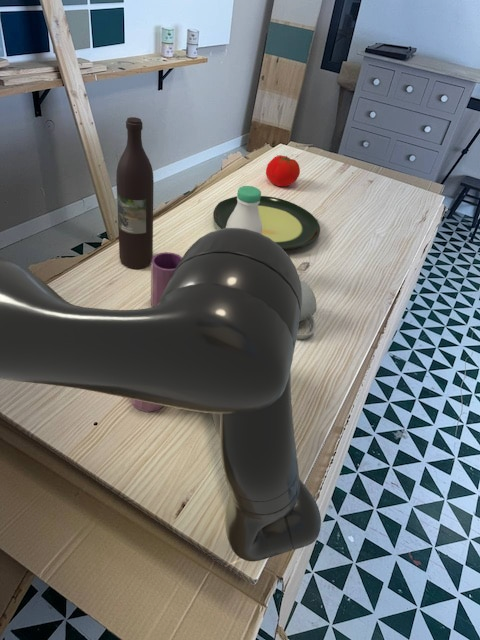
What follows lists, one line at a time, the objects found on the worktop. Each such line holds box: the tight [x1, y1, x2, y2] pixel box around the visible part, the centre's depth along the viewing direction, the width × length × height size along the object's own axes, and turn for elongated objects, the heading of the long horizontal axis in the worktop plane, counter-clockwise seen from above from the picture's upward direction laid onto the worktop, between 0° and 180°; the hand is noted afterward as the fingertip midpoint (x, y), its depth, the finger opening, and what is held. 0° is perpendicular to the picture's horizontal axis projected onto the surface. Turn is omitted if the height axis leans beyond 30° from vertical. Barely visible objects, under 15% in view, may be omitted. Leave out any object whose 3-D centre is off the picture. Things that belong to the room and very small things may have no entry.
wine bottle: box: [115, 116, 155, 270], centre depth 93 cm, size 7×7×30 cm
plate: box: [212, 195, 321, 251], centre depth 121 cm, size 28×28×2 cm
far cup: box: [150, 251, 183, 307], centre depth 89 cm, size 6×6×10 cm
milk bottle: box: [226, 185, 262, 234], centre depth 97 cm, size 8×8×20 cm
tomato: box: [265, 154, 301, 187], centre depth 141 cm, size 9×10×8 cm
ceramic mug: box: [296, 280, 317, 340], centre depth 90 cm, size 11×8×8 cm
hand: (214, 326), depth 76 cm, fingers closed on front cup, 6 cm apart
